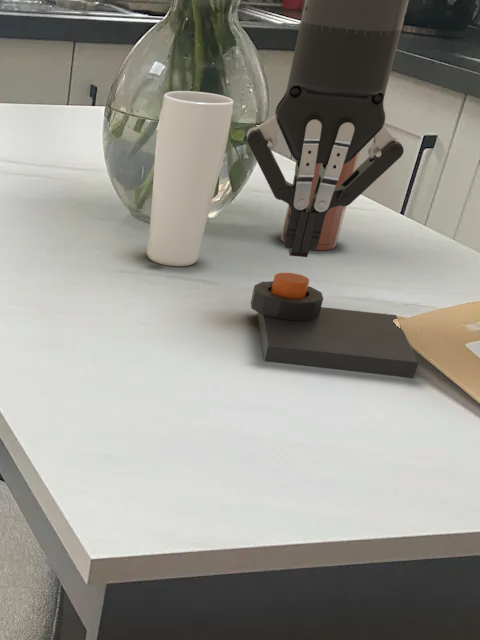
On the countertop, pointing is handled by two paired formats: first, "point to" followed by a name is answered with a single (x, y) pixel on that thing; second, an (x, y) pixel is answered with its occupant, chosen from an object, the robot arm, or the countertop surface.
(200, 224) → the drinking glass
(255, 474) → the countertop surface
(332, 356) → the scale
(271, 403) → the countertop surface
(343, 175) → the cup
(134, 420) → the countertop surface
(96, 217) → the countertop surface
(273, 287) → the button
